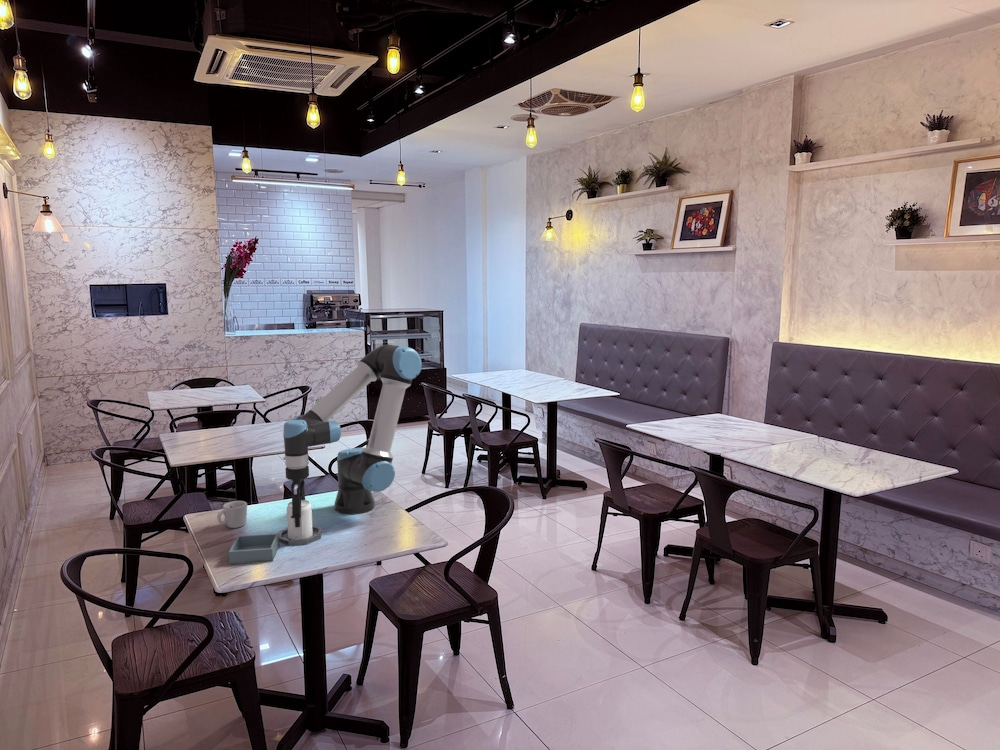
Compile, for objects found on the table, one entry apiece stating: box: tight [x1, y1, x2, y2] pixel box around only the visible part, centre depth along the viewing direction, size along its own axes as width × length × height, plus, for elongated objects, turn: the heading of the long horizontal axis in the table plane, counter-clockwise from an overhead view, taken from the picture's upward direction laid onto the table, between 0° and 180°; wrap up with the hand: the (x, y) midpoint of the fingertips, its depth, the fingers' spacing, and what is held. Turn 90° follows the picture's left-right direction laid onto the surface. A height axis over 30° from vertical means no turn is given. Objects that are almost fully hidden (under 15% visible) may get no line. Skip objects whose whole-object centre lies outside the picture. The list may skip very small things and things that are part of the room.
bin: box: [228, 533, 280, 565], centre depth 214 cm, size 13×13×4 cm
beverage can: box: [286, 499, 314, 540], centre depth 228 cm, size 8×8×12 cm
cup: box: [216, 500, 248, 529], centre depth 237 cm, size 11×8×8 cm
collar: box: [278, 524, 323, 546], centre depth 228 cm, size 14×14×2 cm
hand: (300, 530), depth 228 cm, fingers closed on beverage can, 8 cm apart
